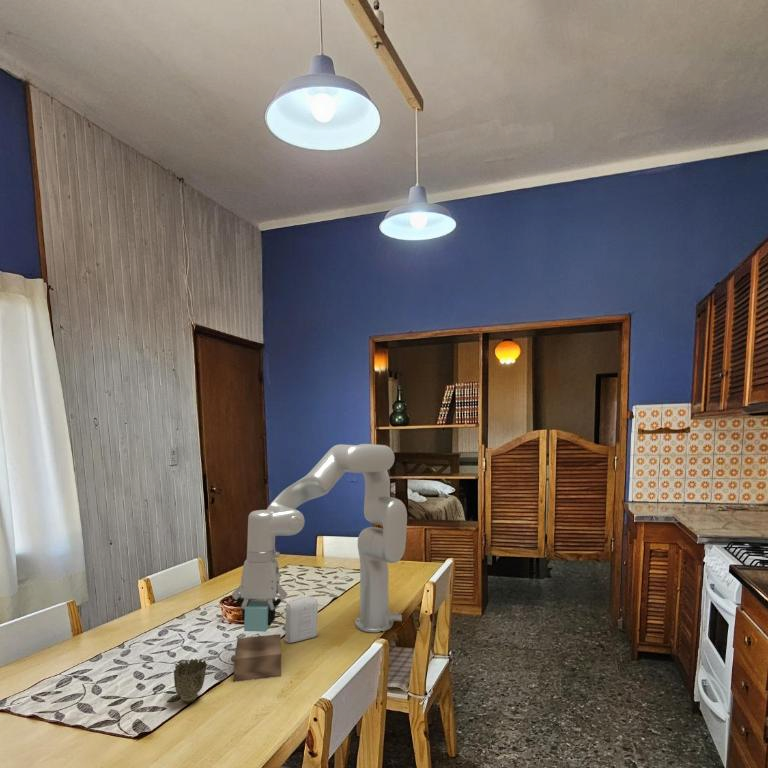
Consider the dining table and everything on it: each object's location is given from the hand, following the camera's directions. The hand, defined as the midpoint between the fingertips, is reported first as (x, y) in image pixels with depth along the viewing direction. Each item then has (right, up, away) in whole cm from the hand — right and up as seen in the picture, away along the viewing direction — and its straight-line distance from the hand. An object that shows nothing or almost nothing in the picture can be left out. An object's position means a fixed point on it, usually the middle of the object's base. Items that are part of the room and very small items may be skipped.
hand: (258, 622), depth 131 cm
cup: (-13, -11, -16) cm, 23 cm away
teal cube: (0, -1, 0) cm, 1 cm away
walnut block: (0, -12, -1) cm, 12 cm away
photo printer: (+9, -14, +17) cm, 23 cm away
